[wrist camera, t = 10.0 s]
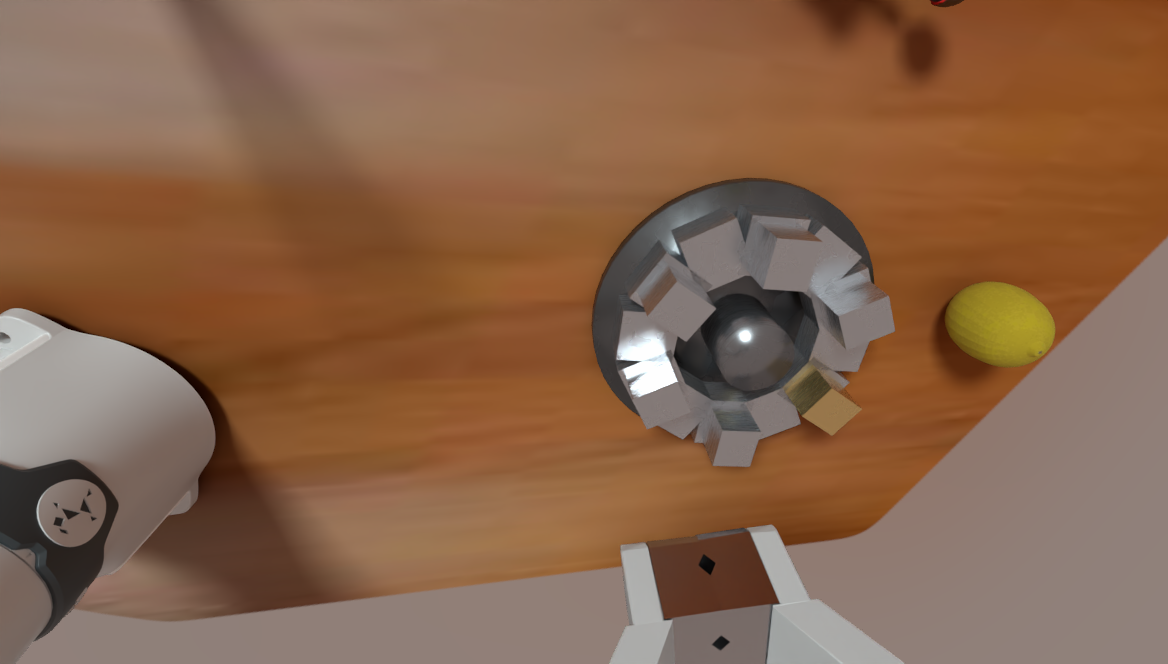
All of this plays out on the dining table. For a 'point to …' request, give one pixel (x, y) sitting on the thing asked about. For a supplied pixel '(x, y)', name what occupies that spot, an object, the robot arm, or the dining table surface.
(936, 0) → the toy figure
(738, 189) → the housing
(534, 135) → the dining table surface
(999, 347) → the lemon
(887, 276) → the dining table surface
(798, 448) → the dining table surface
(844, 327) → the cube bead bracelet
